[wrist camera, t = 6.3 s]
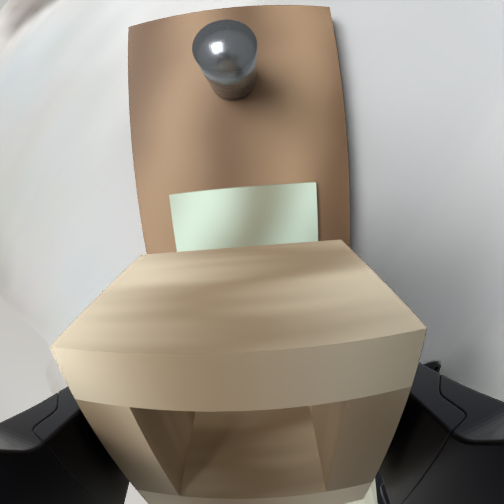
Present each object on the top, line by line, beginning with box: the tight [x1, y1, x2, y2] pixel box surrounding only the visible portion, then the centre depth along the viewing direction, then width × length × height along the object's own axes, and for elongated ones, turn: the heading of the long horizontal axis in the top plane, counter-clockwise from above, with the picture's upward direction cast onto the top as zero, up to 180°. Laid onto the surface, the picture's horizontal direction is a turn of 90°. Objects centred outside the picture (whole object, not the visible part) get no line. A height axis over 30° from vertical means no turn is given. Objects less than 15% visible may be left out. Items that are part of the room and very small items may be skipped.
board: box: [128, 5, 350, 254], centre depth 16 cm, size 12×20×2 cm, turn 5°
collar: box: [50, 240, 427, 504], centre depth 7 cm, size 6×6×5 cm
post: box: [192, 19, 257, 101], centre depth 12 cm, size 2×2×6 cm
